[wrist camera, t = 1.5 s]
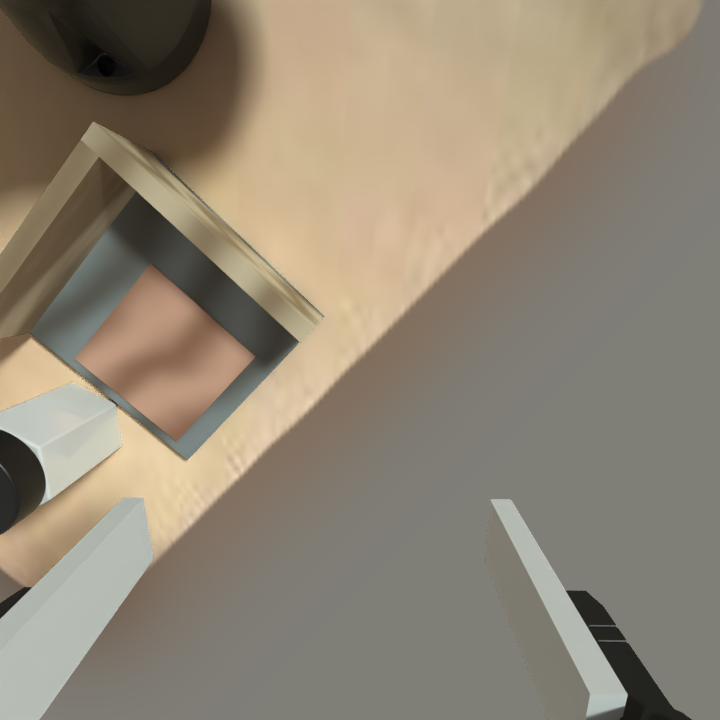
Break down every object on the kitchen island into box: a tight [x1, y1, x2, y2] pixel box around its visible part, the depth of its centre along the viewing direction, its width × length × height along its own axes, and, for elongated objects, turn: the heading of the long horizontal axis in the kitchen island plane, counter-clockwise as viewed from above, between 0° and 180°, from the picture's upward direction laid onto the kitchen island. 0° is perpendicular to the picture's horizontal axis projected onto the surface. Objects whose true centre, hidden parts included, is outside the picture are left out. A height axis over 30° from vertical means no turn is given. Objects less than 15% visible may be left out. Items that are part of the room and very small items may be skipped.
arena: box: [0, 122, 324, 460], centre depth 32 cm, size 20×20×7 cm
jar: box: [0, 382, 122, 535], centre depth 33 cm, size 9×8×12 cm
